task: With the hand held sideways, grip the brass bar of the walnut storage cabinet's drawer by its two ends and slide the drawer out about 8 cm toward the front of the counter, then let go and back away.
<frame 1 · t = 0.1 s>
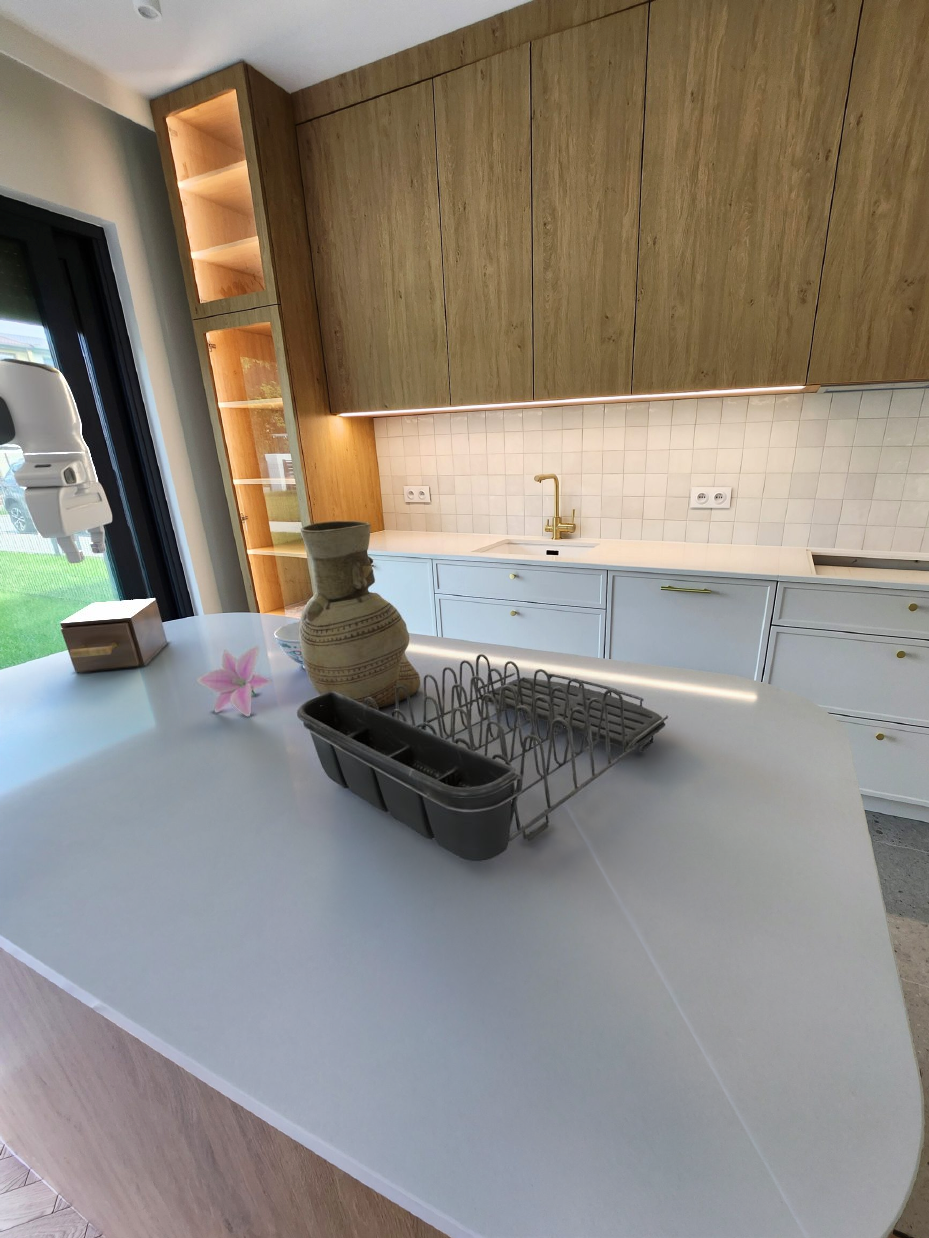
hand: (88, 557, 101), 25 cm above the countertop, tool pointing down, fingers open, 8 cm apart
dish rack: (505, 761, 82), on the countertop
drawer: (109, 640, 121), point 5 cm above the countertop, slide at 0.5 cm
chinaware: (320, 665, 119), on the countertop
lily: (242, 706, 102), on the countertop
cabinet: (125, 657, 127), on the countertop
ceramic vessel: (365, 699, 103), on the countertop
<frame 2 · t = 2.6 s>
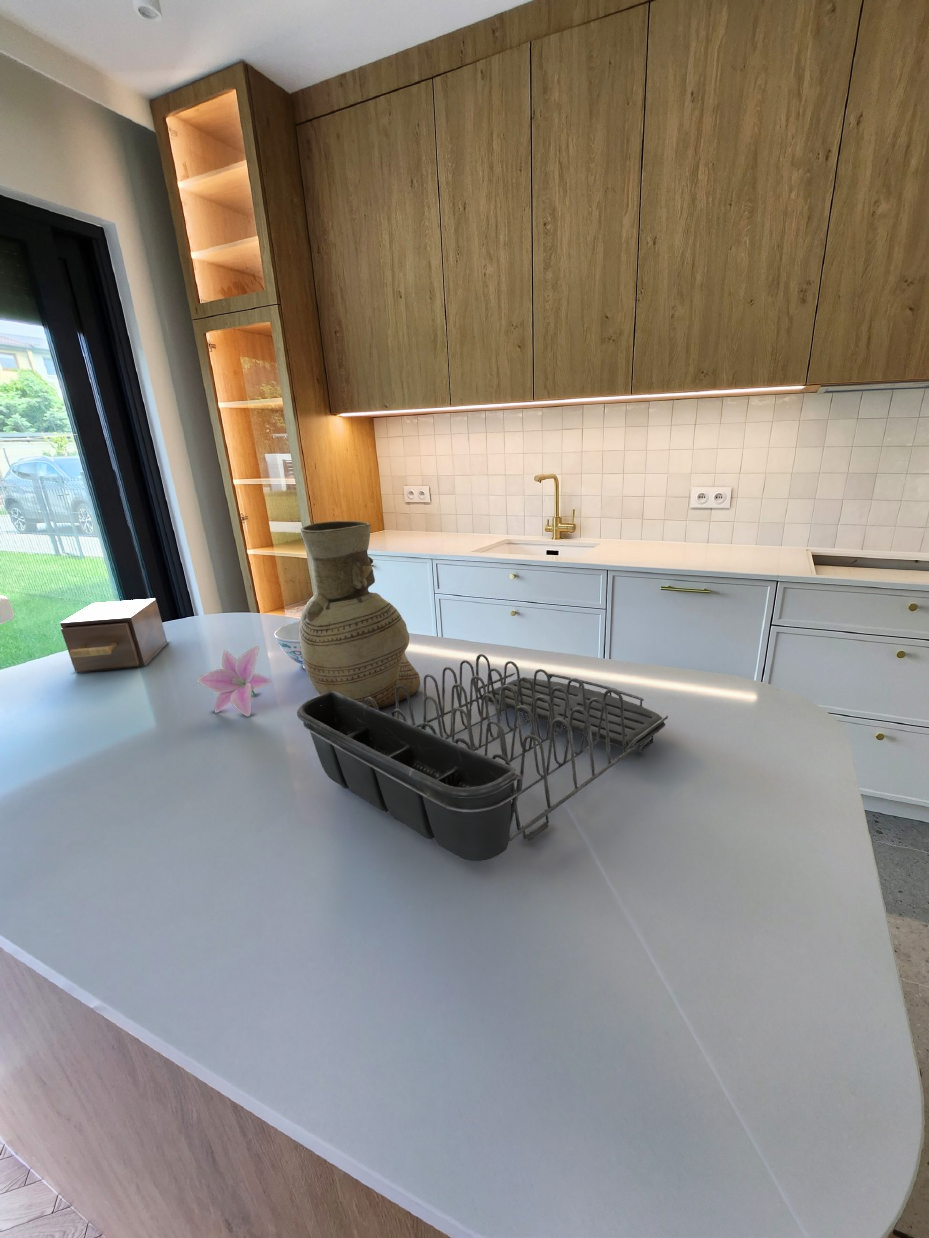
nothing on the countertop moved.
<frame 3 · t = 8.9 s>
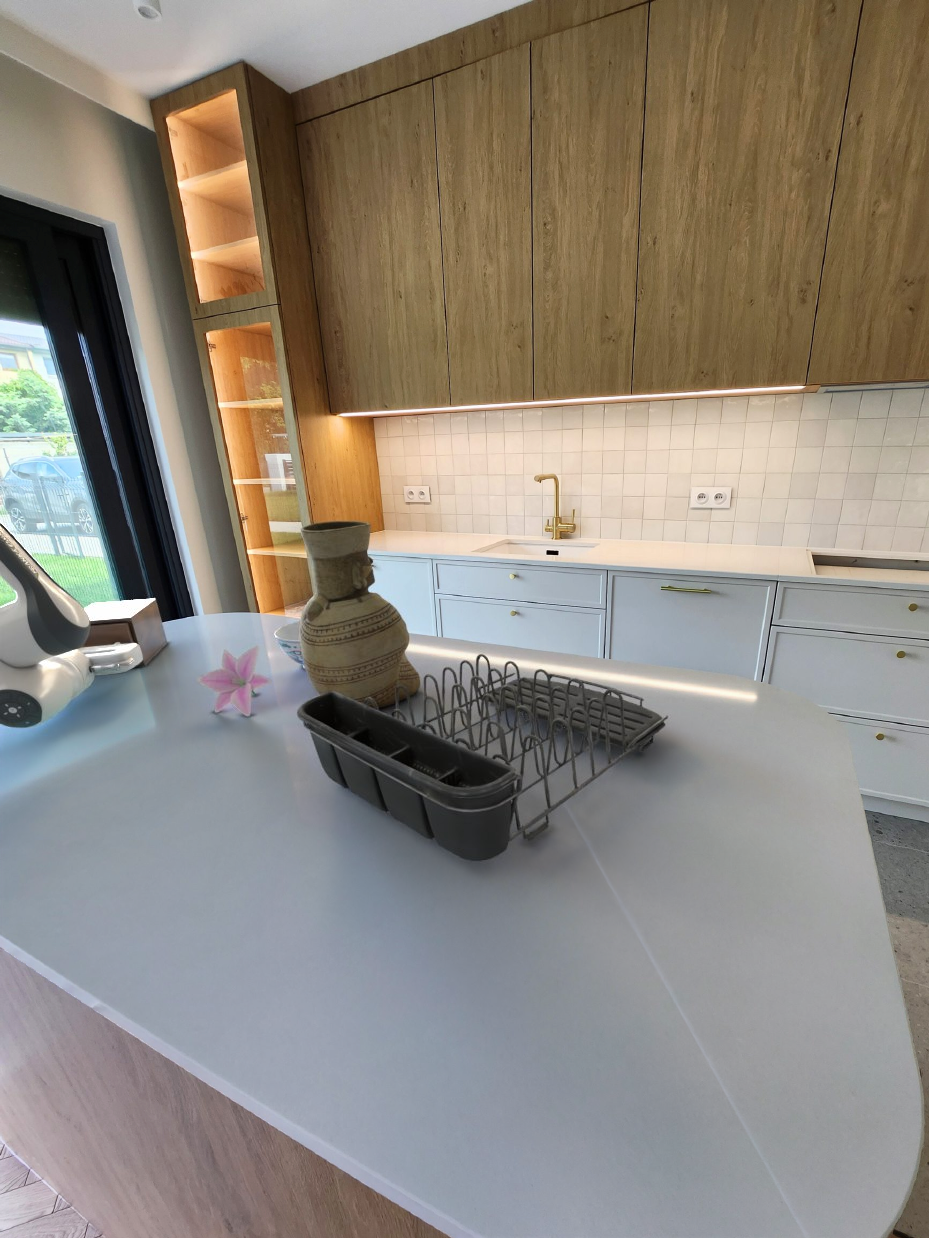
hand: (94, 647, 114), 6 cm above the countertop, tool horizontal, fingers closed on drawer, 6 cm apart
drawer: (109, 640, 121), point 5 cm above the countertop, slide at 0.5 cm, touching gripper
everything else where it was.
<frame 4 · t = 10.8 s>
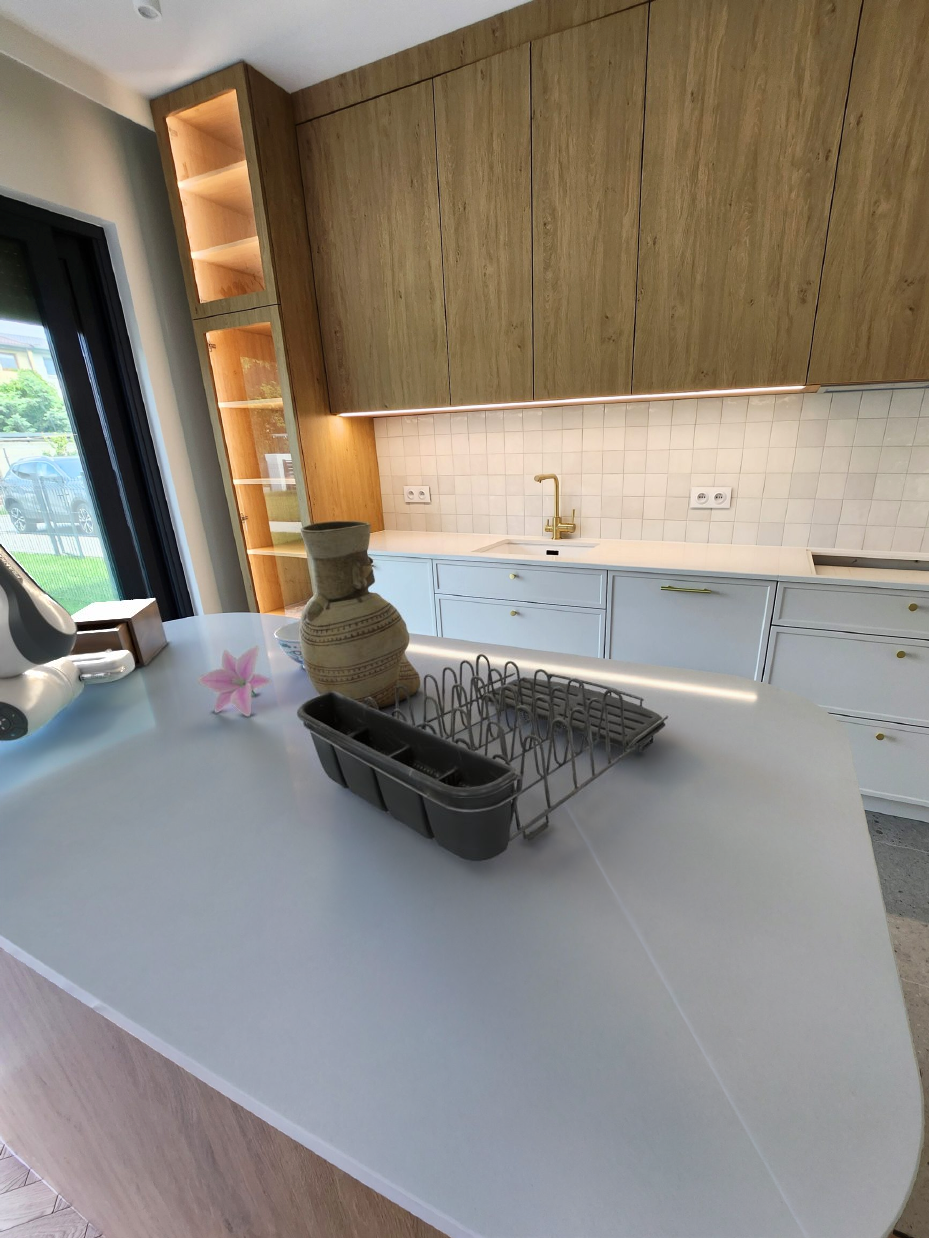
hand: (84, 655, 110), 6 cm above the countertop, tool horizontal, fingers closed on drawer, 6 cm apart
drawer: (101, 647, 117), point 5 cm above the countertop, slide at 4.8 cm, touching gripper
everything else where it was.
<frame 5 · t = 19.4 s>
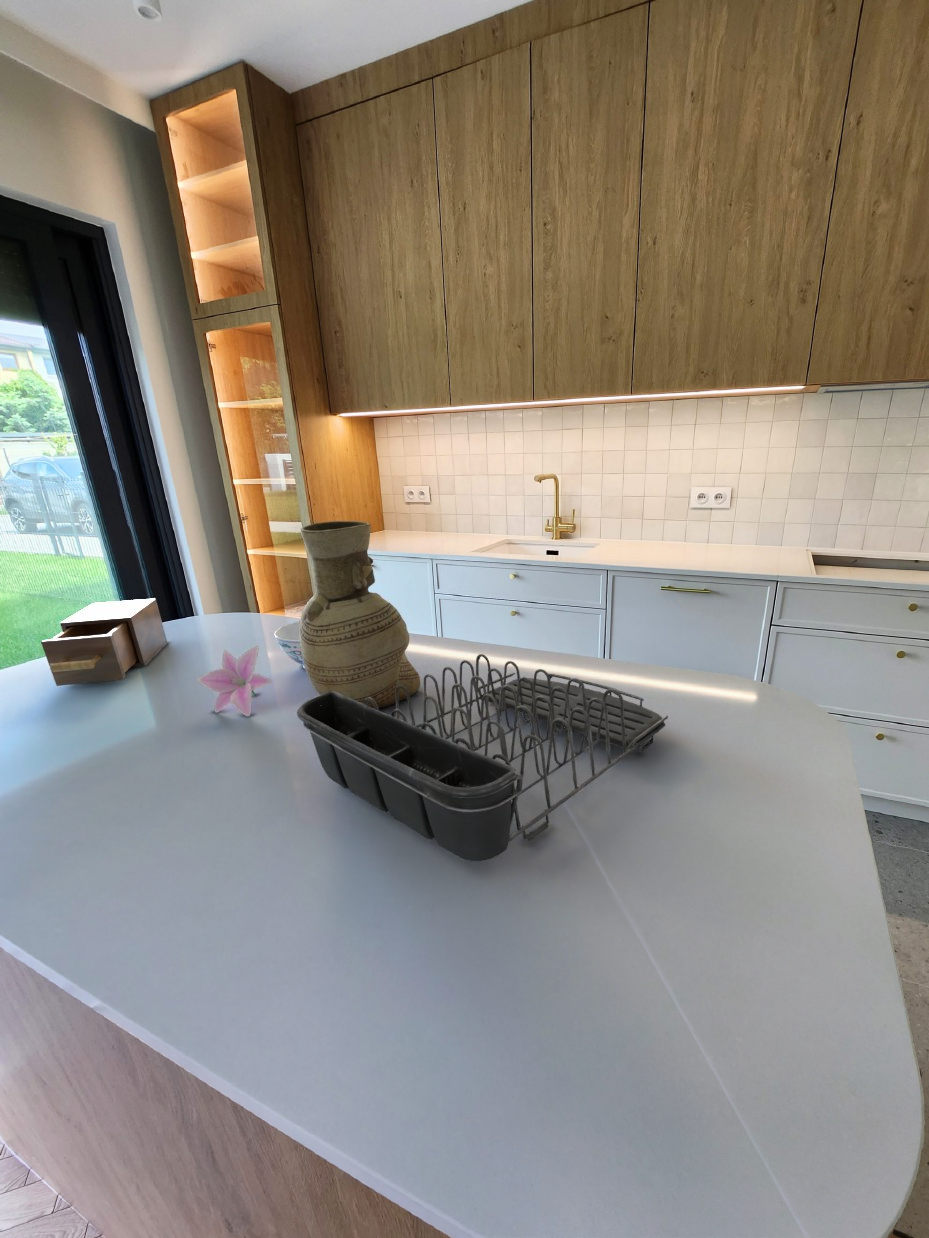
drawer: (93, 652, 114), point 5 cm above the countertop, slide at 8.3 cm
everything else where it was.
at the end: drawer slide at 8.3 cm; the gripper is holding nothing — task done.
